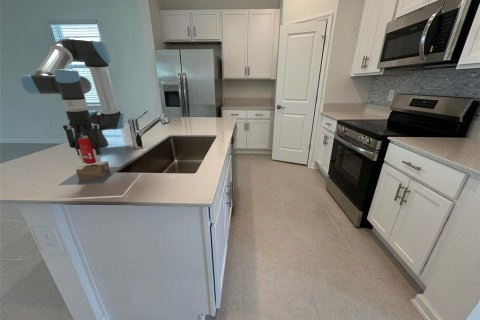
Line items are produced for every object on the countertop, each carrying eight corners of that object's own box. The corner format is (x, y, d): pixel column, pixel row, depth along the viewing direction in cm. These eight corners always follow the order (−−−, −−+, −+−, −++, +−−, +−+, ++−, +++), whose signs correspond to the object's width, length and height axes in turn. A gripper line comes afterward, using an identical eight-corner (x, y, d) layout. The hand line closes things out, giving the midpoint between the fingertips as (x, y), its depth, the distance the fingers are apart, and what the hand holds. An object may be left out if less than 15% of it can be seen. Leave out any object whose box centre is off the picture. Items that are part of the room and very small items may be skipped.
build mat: (84, 169, 101) (83, 168, 101) (121, 167, 103) (121, 166, 103) (58, 186, 84) (58, 185, 84) (104, 184, 86) (103, 183, 86)
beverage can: (82, 163, 90) (74, 137, 86) (94, 159, 95) (87, 134, 90) (88, 165, 88) (81, 139, 84) (100, 161, 92) (94, 136, 88)
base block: (90, 171, 97) (87, 161, 95) (110, 170, 98) (107, 161, 96) (78, 179, 89) (75, 169, 87) (100, 178, 90) (97, 168, 88)
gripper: (46, 111, 78) (64, 165, 87) (95, 111, 80) (108, 164, 89) (59, 108, 85) (75, 159, 94) (105, 108, 87) (116, 158, 96)
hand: (91, 161), depth 91 cm, fingers closed on beverage can, 5 cm apart
